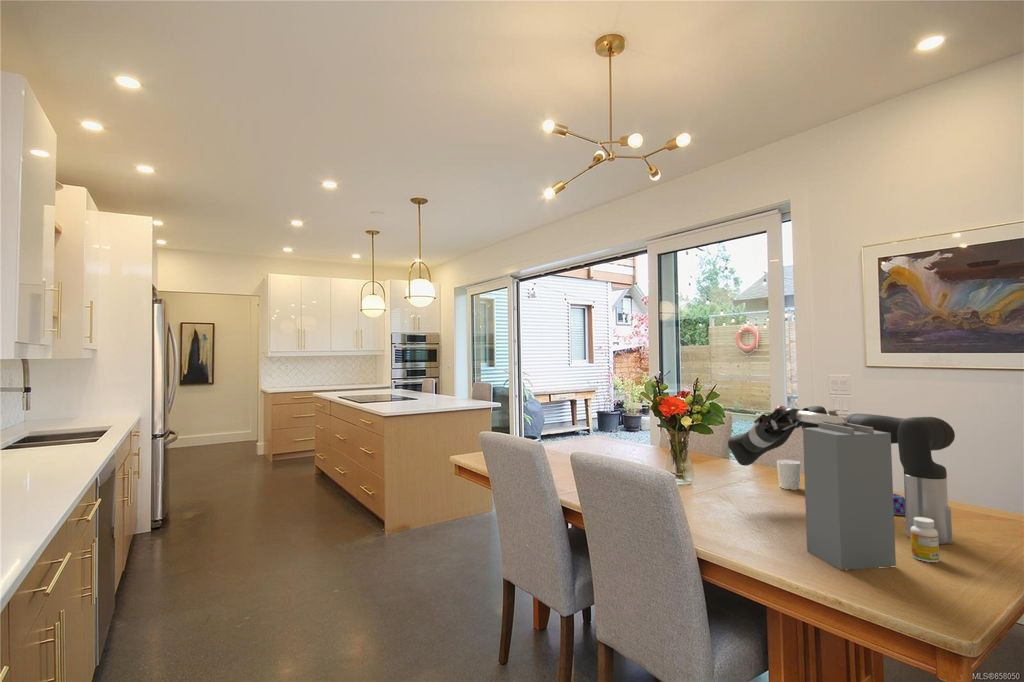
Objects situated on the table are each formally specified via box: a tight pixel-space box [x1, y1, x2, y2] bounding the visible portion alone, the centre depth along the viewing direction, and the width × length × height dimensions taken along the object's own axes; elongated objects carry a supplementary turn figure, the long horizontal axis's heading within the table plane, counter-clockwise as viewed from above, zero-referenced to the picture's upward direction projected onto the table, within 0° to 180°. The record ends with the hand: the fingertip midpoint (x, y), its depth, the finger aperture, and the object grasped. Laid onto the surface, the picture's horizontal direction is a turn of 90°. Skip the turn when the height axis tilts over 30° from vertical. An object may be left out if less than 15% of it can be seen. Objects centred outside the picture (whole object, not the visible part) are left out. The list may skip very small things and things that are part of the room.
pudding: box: [893, 493, 905, 516], centre depth 163 cm, size 12×12×5 cm
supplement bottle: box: [910, 517, 940, 564], centre depth 125 cm, size 5×5×10 cm
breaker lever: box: [773, 405, 847, 427], centre depth 140 cm, size 25×4×4 cm, turn 5°
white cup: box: [776, 459, 801, 491], centre depth 192 cm, size 8×8×10 cm
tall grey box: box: [802, 422, 897, 571], centre depth 126 cm, size 12×14×33 cm
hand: (794, 411), depth 146 cm, fingers open, 8 cm apart
